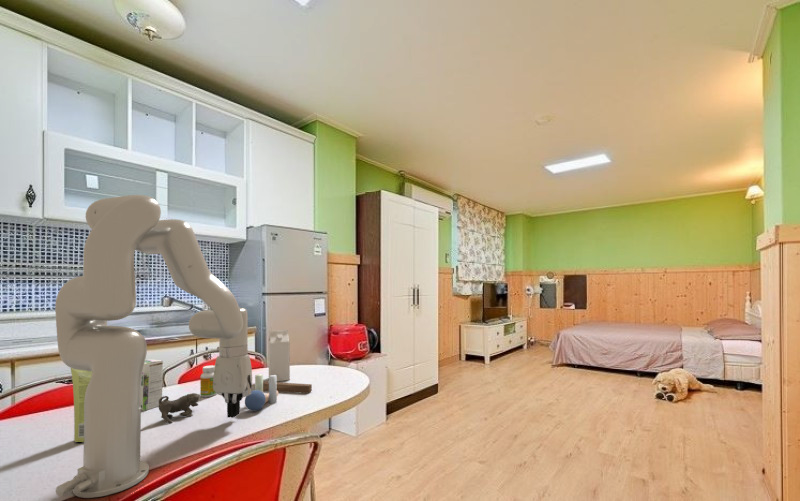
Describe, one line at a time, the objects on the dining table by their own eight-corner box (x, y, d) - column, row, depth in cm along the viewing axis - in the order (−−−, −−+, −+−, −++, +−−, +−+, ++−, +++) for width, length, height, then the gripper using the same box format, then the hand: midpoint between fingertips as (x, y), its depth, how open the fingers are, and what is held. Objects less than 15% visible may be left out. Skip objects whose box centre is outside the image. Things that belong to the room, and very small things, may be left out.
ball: (272, 395, 123) (263, 414, 120) (256, 390, 125) (247, 409, 122) (262, 390, 118) (253, 411, 115) (246, 385, 120) (237, 405, 117)
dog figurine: (163, 426, 109) (163, 399, 109) (154, 421, 113) (154, 395, 113) (206, 412, 119) (206, 388, 119) (196, 408, 122) (196, 384, 122)
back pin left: (260, 402, 126) (260, 376, 127) (253, 402, 127) (253, 376, 127) (264, 400, 129) (264, 374, 129) (258, 399, 129) (258, 374, 130)
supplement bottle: (210, 397, 132) (210, 368, 133) (196, 397, 133) (196, 368, 134) (220, 392, 138) (221, 365, 138) (207, 392, 139) (207, 364, 139)
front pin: (264, 398, 124) (278, 389, 133) (257, 397, 125) (272, 389, 133) (264, 405, 124) (278, 397, 132) (257, 404, 125) (271, 396, 133)
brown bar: (309, 393, 135) (309, 386, 135) (258, 390, 140) (258, 383, 140) (311, 391, 137) (311, 384, 137) (261, 388, 142) (261, 381, 142)
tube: (84, 434, 104) (86, 360, 105) (105, 433, 104) (106, 360, 105) (68, 444, 98) (70, 366, 99) (90, 443, 99) (91, 365, 100)
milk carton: (268, 378, 155) (268, 330, 156) (286, 375, 158) (286, 328, 159) (270, 382, 149) (270, 332, 150) (289, 380, 152) (289, 331, 153)
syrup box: (133, 408, 123) (133, 362, 124) (151, 402, 128) (152, 358, 129) (144, 411, 121) (145, 363, 121) (163, 405, 126) (163, 359, 127)
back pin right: (274, 403, 125) (273, 377, 126) (267, 403, 126) (267, 376, 126) (278, 401, 128) (277, 375, 128) (271, 400, 128) (271, 374, 129)
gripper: (202, 353, 110) (201, 418, 110) (248, 355, 107) (248, 423, 106) (220, 347, 118) (219, 409, 117) (264, 349, 114) (264, 412, 113)
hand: (233, 415), depth 112 cm, fingers closed
